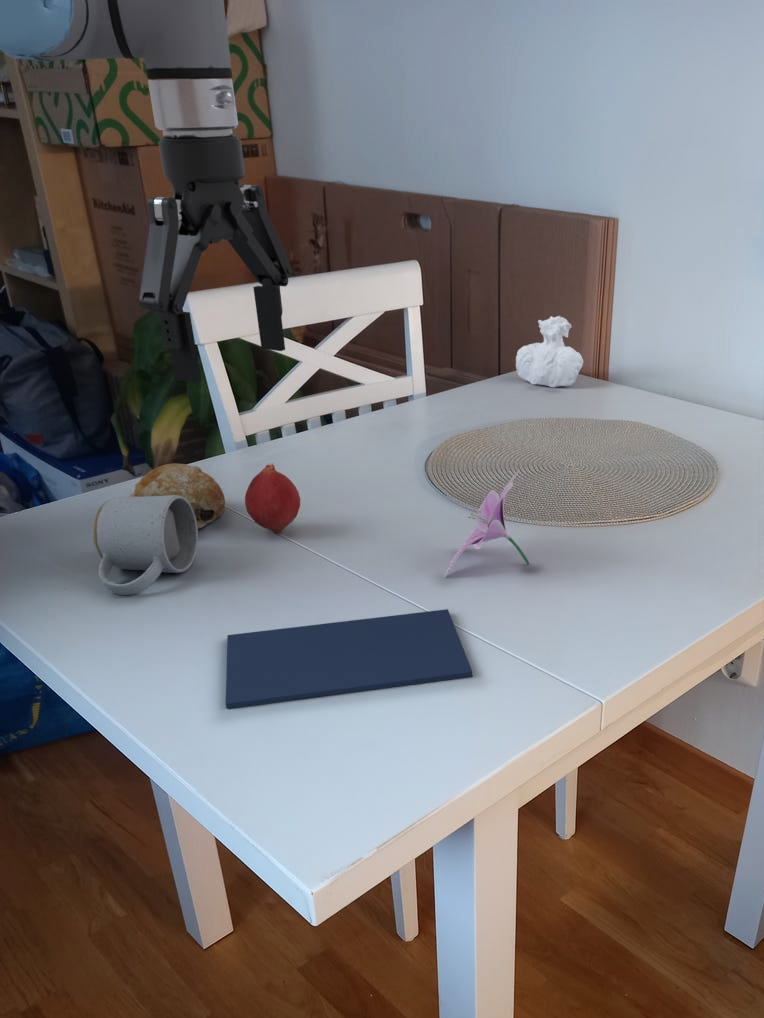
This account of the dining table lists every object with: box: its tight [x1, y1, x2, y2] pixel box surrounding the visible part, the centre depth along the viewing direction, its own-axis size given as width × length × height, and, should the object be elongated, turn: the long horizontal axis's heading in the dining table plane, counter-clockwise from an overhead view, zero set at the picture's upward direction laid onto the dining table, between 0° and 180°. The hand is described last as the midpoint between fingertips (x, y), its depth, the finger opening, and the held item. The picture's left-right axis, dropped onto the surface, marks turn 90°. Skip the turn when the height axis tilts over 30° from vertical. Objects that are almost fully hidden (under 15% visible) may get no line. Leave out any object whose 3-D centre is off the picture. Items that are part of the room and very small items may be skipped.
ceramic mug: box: [92, 495, 199, 596], centre depth 92 cm, size 11×8×8 cm
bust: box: [515, 315, 584, 388], centre depth 150 cm, size 12×8×11 cm
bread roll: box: [129, 462, 226, 530], centre depth 105 cm, size 10×10×8 cm
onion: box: [244, 462, 301, 534], centre depth 100 cm, size 6×6×8 cm
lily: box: [444, 469, 531, 577], centre depth 93 cm, size 12×12×10 cm
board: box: [225, 608, 474, 709], centre depth 80 cm, size 20×11×1 cm, turn 102°
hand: (233, 364), depth 97 cm, fingers open, 13 cm apart
